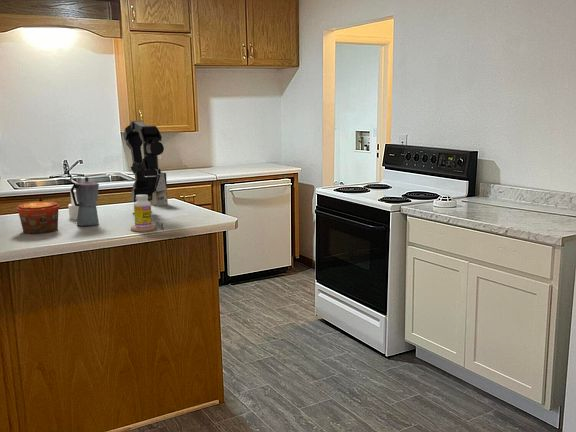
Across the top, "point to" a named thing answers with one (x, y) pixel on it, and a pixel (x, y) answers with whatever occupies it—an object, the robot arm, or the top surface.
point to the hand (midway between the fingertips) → (153, 192)
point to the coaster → (143, 228)
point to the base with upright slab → (73, 207)
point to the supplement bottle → (142, 211)
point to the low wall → (159, 224)
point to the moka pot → (86, 202)
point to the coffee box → (160, 192)
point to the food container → (39, 217)
